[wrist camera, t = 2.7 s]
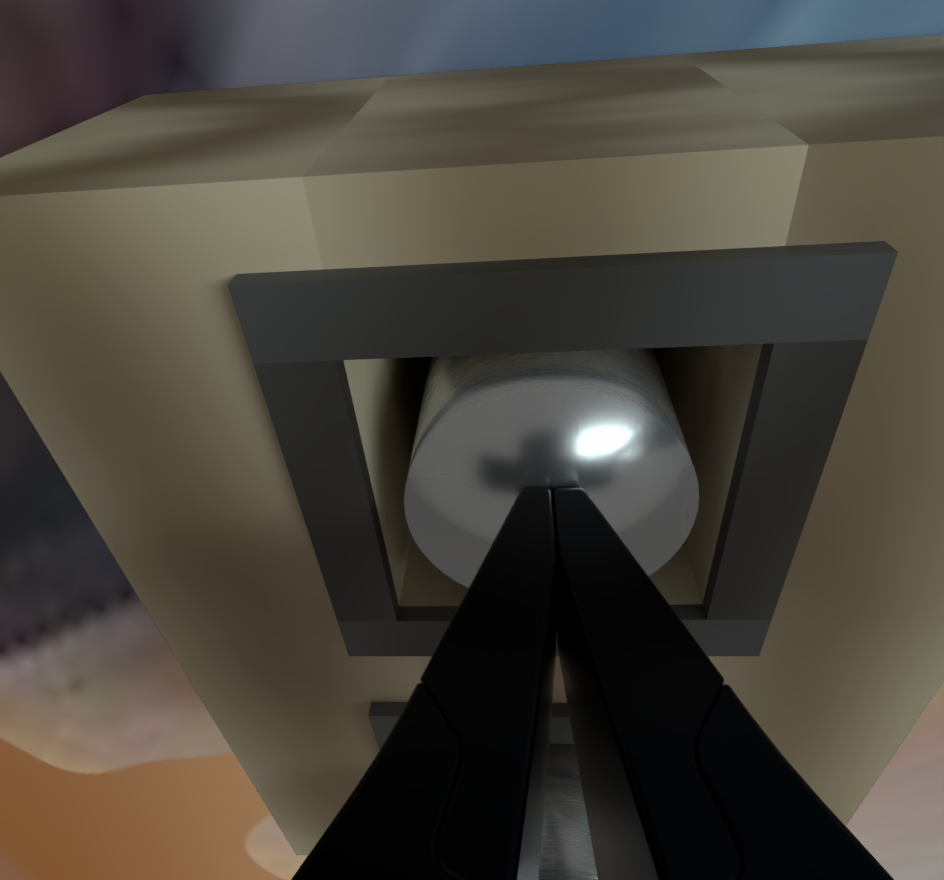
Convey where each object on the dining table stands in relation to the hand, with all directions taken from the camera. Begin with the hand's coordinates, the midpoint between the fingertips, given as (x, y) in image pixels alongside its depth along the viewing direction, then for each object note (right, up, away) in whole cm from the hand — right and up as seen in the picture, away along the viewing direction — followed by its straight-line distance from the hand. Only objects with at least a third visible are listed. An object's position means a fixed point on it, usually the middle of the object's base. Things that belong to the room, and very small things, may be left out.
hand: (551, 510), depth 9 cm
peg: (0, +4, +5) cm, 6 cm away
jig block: (+1, 0, +8) cm, 8 cm away
